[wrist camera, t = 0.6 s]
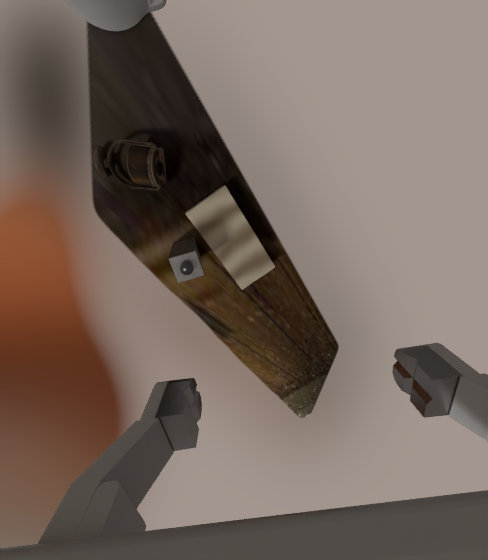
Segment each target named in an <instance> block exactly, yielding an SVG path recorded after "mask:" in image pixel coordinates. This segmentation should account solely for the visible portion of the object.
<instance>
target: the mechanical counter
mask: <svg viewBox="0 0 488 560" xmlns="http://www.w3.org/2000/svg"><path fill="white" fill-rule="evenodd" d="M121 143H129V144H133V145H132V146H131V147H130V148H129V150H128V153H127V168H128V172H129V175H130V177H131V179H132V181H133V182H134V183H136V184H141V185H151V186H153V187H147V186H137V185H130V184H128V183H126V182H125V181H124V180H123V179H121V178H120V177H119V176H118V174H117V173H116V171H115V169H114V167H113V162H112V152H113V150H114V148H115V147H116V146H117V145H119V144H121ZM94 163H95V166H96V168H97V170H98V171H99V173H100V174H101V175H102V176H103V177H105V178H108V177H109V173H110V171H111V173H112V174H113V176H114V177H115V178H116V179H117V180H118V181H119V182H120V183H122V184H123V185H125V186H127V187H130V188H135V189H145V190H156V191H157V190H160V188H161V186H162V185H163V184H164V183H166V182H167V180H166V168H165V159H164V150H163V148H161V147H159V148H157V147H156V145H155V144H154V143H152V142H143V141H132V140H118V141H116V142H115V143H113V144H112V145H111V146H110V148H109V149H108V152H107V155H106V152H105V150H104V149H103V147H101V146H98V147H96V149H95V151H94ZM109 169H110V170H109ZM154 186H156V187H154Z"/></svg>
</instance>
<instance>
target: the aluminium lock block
mask: <svg viewBox="0 0 488 560" xmlns="http://www.w3.org/2000/svg"><path fill="white" fill-rule="evenodd" d="M169 261H170V263H171V266H172V268H173V271H174V273H175V276H176V278H177V281H178V283H180V282H183V281H186V280H190V279H193V278H196V277H199V276H203V275H204V273H203V267H202V260H201V256H200V253H199V250H198V247H197V244H196V241H195V238H194V237H193V238H189V239H186V240H182V241H179V242H175V243H173V245H172V248H171V252H170V256H169Z"/></svg>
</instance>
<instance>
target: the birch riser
mask: <svg viewBox="0 0 488 560" xmlns="http://www.w3.org/2000/svg"><path fill="white" fill-rule="evenodd" d="M186 215H187V217H188V218H189V219H190V221H191V222H192V223H193V225H194V226H195V227H196V229H197V230H198V231H199V233H200V234H201V236H202V237H203V238H204V240H205V241H206V242H207V244H208V245H209V246H210V248H211V249H212V250H213V252H214V253H215V254H216V256H217V257H218V258H219V260H220V261H221V262H222V264H223V265H224V266H225V268H226V269H227V270H228V272H229V273H230V274H231V276H232V277H233V279H234V280H235V281H236V283H237V284H238V285H239V287H240V288H241V289H242V290H243V289H244V288H246V287H247V286H248V285H250V284H251V283H253V282H254V281H256V280H257V279H259V278H260V277H262V276H263V275H264V274H266V273H267V272H269V271H270V270H272V269H273V268H275V266H274V264H273V262H272V261H271V259H270V258H269V256H268V254H267V253H266V251H265V249H264V248H263V246H262V245H261V243H260V241H259V240H258V238H257V236H256V235H255V233H254V231H253V230H252V228H251V227H250V225H249V223H248V222H247V220H246V218H245V217H244V215H243V214H242V212H241V210H240V209H239V207H238V205H237V204H236V202H235V201H234V199H233V197H232V196H231V194H230V192H229V191H228V189H227V187H226V186H224V185H223V186H222V187H220V188H219V189H217V190H216V191H214V192H213V193H212V194H210V195H209V196H207V197H206V198H205V199H203V200H202V201H200V202H199V203H198V204H196V205H195V206H193V207H192V208H191V209H189V210H188V211H186Z"/></svg>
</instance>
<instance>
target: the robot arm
mask: <svg viewBox="0 0 488 560" xmlns="http://www.w3.org/2000/svg"><path fill="white" fill-rule="evenodd" d="M65 1H66V2H67V3H68V4H69V5H70V7H71V8H72V9H73V10H74V11H75V12H76V13H77V14H78V15H80V16H81V17H82V18H84V19H85V20H86V21H88V22H89V23H91V24H92V25H94V26H96V27H99V28H101V29H105V30H109V31H123V30H126V29H129V28H131V27H133V26H135V25H136V24H137V23H138V22H139V21H140V20H141V19H142V18H143V17H144V16H145V15H146V14H147V13H149V12H152V11H156V10H159V9H161V8H163V7H164V6H165V4H166V0H65ZM394 357H395V358H396V359H397V362H396V363H395V364H394V365H393V375H394V379H395V381H396V383H397V385H398V386H399V387H400V389H401V390H402V391H404V392H406V393H408V394H409V395H410V401H411V402H412V403H413V405H414V406H415V407H416V408H417V410H418V411H419V412H420V413H421V414H422V416H423V417H433V416H443V415H449V417H451V418H452V419H454V420H455V421H457V422H459V423H460V424H462V425H463V426H465V427H466V428H468V429H470V430H471V431H473V432H474V433H476V434H477V435H479V436H480V437H482V438H484V439H485V440H487V441H488V375H487V374H479V373H478V372H477V371H475V370H474V369H473V368H472V367H470V366H469V365H468V364H466V363H465V362H464V361H462V360H461V359H460V358H459V357H457V356H456V355H454V354H453V353H452V352H451V351H449V350H448V349H447V348H445V347H444V346H443V345H441V344H439V343H433V344H426V345H420V346H414V347H407V348H400V349H397V350H396V351H395V355H394ZM196 386H197V384H196V381H195V379H194V378H190V379H181V380H172V381H165V382H157V384H156V385H155V386H154V388H153V390H152V393H151V395H150V397H149V400H148V402H147V405H146V407H145V409H144V412H143V414H142V417H141V419H140V420H139V421H136V422H135V423H134V424H133V425H132V426H131V427H130V428H128V429H127V431H125V432H124V434H122V435H121V436H120V437H119V438H118V439H117V440H116V441H115V442H114V443H113V444H112V445H111V446H110V447H109V448H108V449H107V450H106V451H105V452H104V453H103V454H102V455H101V456H100V457H99V458H98V459H97V460H96V461H95V462H94V463H93V464H91V466H89V467H88V468H87V469H86V470H85V471H84V472H83V473H82V474H81V475H80V476H79V477H78V478H77V479H76V480H75V481H74V482H73V483H72V484H71V485H70V488H69V489H68V491H67V492H66V494H65V496H64V498H63V500H62V501H61V503H60V505H59V507H58V508H57V510H56V512H55V514H54V516H53V517H52V519H51V521H50V523H49V524H48V526H47V528H46V530H45V532H44V534H43V535H42V537H41V539H40V541H39V542H38V544H34V545H26V546H18V547H9V548H1V549H0V560H488V490H487V491H478V492H469V493H461V494H452V495H444V496H435V497H427V498H419V499H411V500H402V501H394V502H386V503H377V504H369V505H360V506H352V507H344V508H335V509H326V510H318V511H311V512H301V513H293V514H284V515H276V516H268V517H260V518H251V519H244V520H234V521H227V522H218V523H210V524H201V525H193V526H185V527H177V528H168V529H160V530H152V531H145V529H146V525H145V522H144V520H143V519H142V517H141V516H140V514H139V513H138V511H137V510H136V509H137V507H138V505H139V504H140V503H141V501H142V500H143V498H144V497H145V495H146V493H147V492H148V491H149V489H150V488H151V486H152V484H153V483H154V481H155V480H156V478H157V477H158V475H159V474H160V472H161V471H162V469H163V468H164V466H165V465H166V463H167V462H168V460H169V459H170V457H171V455H172V454H173V451H176V450H182V449H189V448H194V447H196V443H197V437H198V431H199V428H198V426H197V422H198V420H199V419H200V418H201V411H202V410H201V409H202V408H201V407H202V402H201V396H200V393H199V392H198V391H196Z"/></svg>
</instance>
